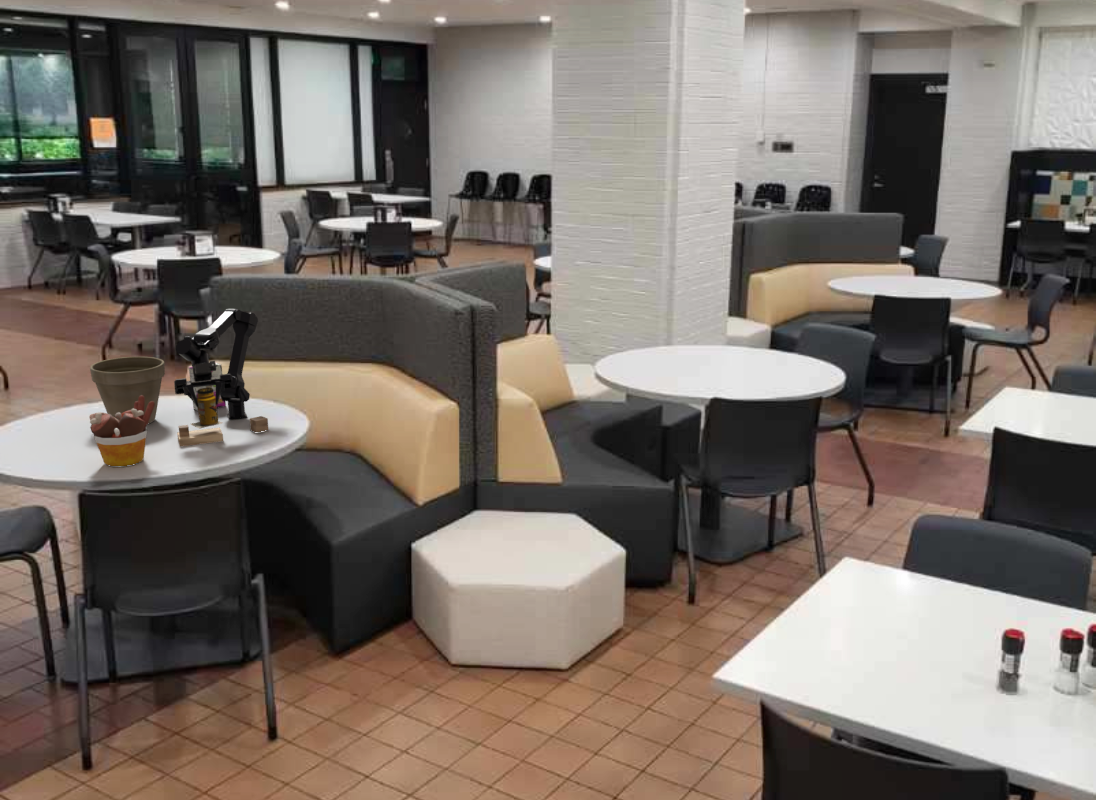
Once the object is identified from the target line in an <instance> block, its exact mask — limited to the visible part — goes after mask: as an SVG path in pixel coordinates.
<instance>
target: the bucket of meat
mask: <svg viewBox="0 0 1096 800" xmlns="http://www.w3.org/2000/svg"><path fill="white" fill-rule="evenodd" d="M154 406H155V403H154V402H153V401H151V402H149V403H148V406H147V409H146V411H145V414H144V408H145V397H144V396H142V395H141V396H139V398H138V401H136V402H135V403H134V409H132V410H128V411H125V412H123V413H121V414H120V412H119V413H116V414H115V417H116V418H118V419H119V420H120V421H119V420H117V419H116V418H115V417H113V416H112V415H111V414H107V412H101V411H98V412H94V413H91V414H89V424H91V425H90V427H89V428H90V432H91V433H92V435H93V439H94V440H95V442H96V443H95V444H96V445H97V448H98V451H99V453H100V455H101V458H102V460H103V463H104V464H105V465H106V464H107V466H108V465H110V466H109V467H111V466H126V467H128V466H127V465H132V466H134V465H133V464H135V465H137V464H136V463H138V464H139V462H140V463H142V461H143V460H144V459H145V450H146V441H147V433H148V429H147V426H148V425H149V424H148V422H149V419H150V417H151V414H152V412H153V409H154Z"/></svg>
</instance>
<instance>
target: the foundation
mask: <svg viewBox="0 0 1096 800" xmlns="http://www.w3.org/2000/svg"><path fill="white" fill-rule="evenodd" d="M177 441H178V444H179V447H187V446H188V447H189V446H195V445H203V444H205V445H206V444H213V443H220V442H221V441H222V442H224V435H223V431H222V430H221V427H214V428H213V427H212V428H211V427H210V428H201V429H195V430H190V429H189V424H184V425H183V424H181V425H178V432H177ZM222 442H221V443H222Z"/></svg>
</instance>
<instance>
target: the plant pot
mask: <svg viewBox="0 0 1096 800" xmlns="http://www.w3.org/2000/svg"><path fill="white" fill-rule="evenodd" d="M89 370H90V376H91V381H92V382H93V383H95V385H96V389H97V391H98V393H99V396H100V398H101V400H102V403H103V406H104V408H105V409H104V410H105V411H106V413H107V414H111V415H112V416H113V417H115V414H116V413H119V412H120V414H121V413H123V412H125V411H128V410H132V409H134V403H135V402H136V401H138V398H139V396H141V395H142V396H144V397H145V408H144V414H145V411H146V409H147V406H148V403H149V402H151V401H153V402H154V403H155V406H154V409H153V412H152V414H151V417H150V419H149V422H148V423H149V424H151V423H153V422H154V421H155V420H156V416H157V411H158V405H159V400H160V399H159V398H160V393H161V386H162V379H163V377H164V376H165V375H166V373H165V372H166V371H165V361H164V360H163V359H162V358H157V357H153V356H125V357H115V358H110V359H108V358H107V359H105V360H100V361H97V362H95V363H92V364H90V366H89ZM115 418H116V417H115ZM116 419H117V420H119V419H118V418H116ZM119 421H120V420H119Z"/></svg>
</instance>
